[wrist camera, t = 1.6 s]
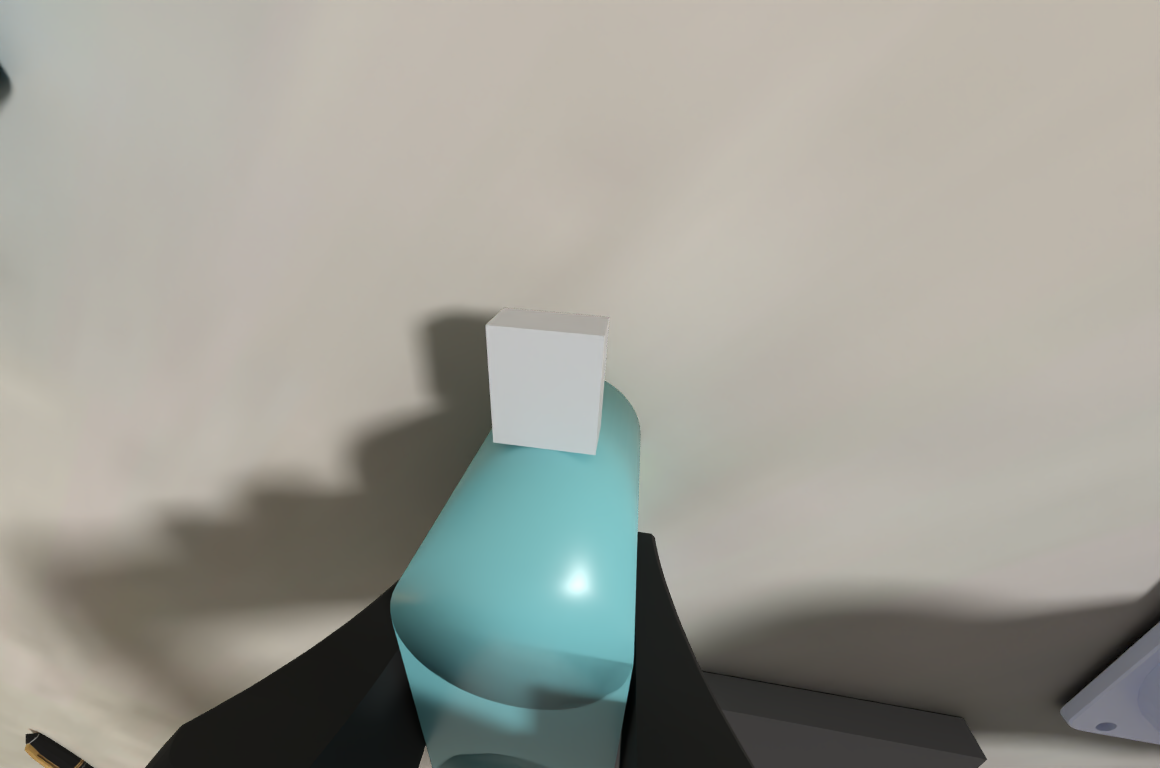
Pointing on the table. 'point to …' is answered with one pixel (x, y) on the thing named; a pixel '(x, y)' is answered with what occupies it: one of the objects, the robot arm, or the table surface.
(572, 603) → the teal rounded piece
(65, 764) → the fountain pen
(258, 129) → the table surface
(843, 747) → the rubber mat
